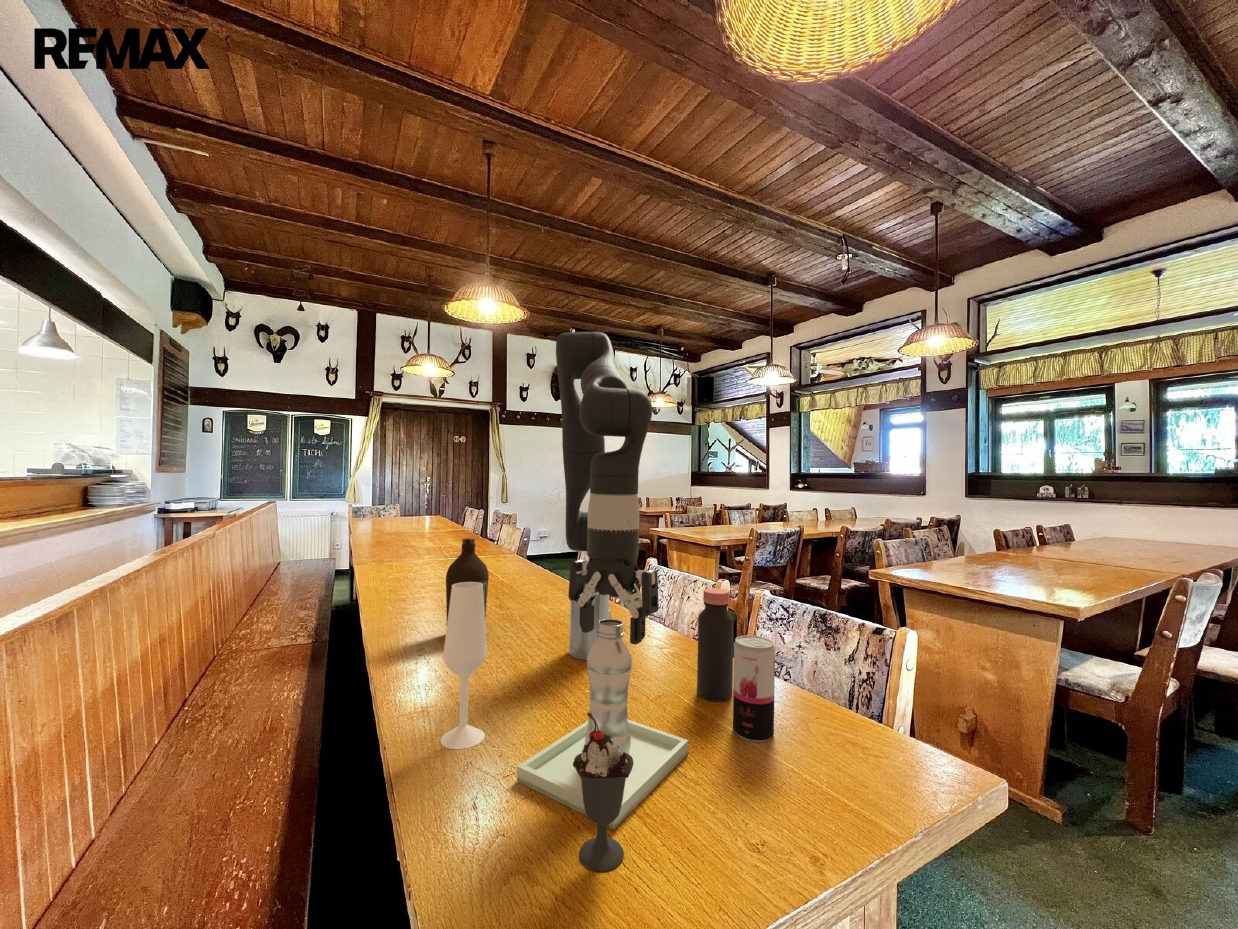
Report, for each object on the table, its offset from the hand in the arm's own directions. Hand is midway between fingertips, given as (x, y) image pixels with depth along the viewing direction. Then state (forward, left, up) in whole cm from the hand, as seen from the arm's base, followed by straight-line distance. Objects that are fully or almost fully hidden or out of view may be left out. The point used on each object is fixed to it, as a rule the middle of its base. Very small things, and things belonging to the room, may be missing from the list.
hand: (610, 636), depth 72 cm
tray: (0, 0, -19) cm, 19 cm away
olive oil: (-26, -63, -19) cm, 71 cm away
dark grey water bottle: (-32, +3, -19) cm, 37 cm away
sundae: (+14, +9, -19) cm, 25 cm away
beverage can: (-22, +14, -19) cm, 32 cm away
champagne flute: (+7, -23, -19) cm, 31 cm away
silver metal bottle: (0, 0, -18) cm, 18 cm away
